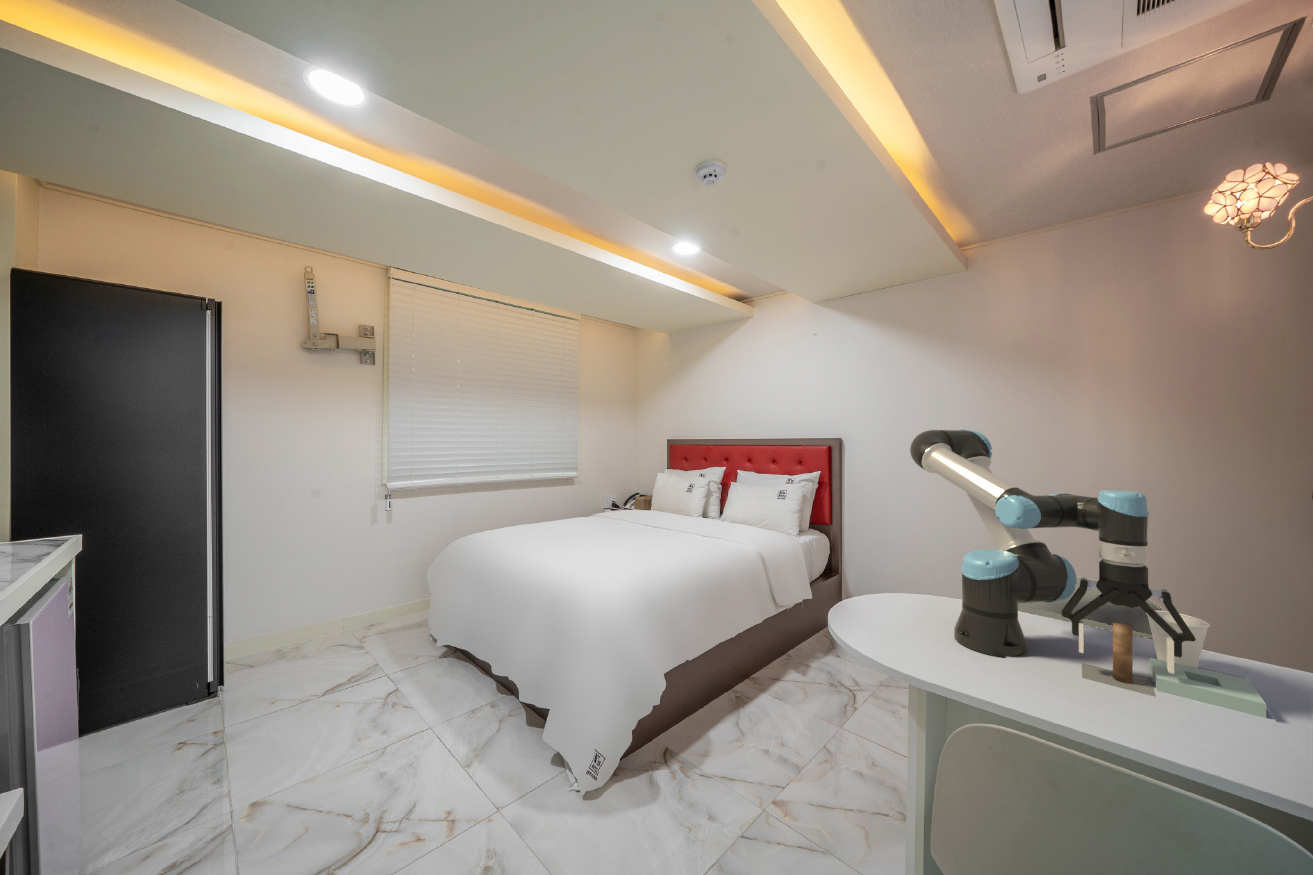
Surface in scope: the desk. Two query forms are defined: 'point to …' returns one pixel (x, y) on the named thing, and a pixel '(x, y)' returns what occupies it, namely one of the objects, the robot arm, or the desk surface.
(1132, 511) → the robot arm
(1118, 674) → the peg
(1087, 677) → the mat
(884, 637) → the desk surface
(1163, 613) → the cup
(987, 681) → the desk surface
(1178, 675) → the socket block
